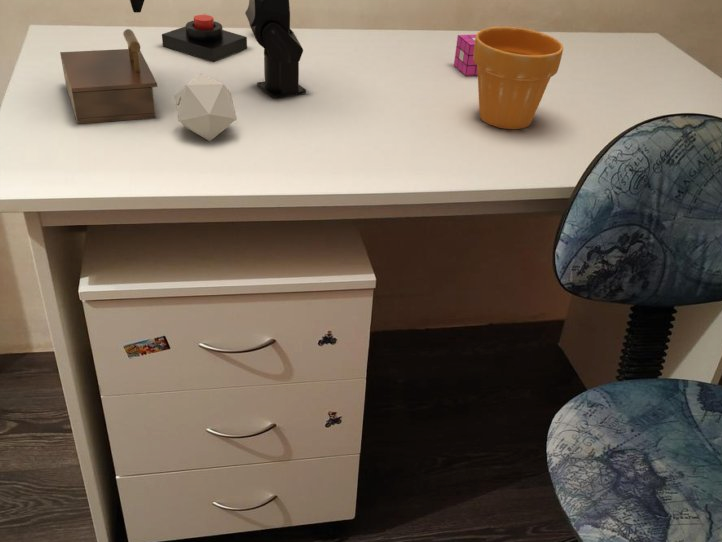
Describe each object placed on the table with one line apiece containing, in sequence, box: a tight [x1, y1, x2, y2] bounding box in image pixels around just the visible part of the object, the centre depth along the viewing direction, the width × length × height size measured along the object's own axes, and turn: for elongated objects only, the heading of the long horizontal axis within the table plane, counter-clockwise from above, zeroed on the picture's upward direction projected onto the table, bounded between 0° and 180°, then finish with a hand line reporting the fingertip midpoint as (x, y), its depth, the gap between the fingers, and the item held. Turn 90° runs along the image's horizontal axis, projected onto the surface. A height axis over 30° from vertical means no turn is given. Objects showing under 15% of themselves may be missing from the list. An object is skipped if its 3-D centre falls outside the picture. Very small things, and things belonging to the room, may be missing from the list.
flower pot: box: [473, 26, 564, 130], centre depth 133 cm, size 14×14×13 cm
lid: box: [59, 28, 158, 92], centre depth 124 cm, size 12×16×5 cm
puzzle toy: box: [453, 34, 478, 77], centre depth 153 cm, size 6×6×6 cm
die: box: [174, 73, 238, 142], centre depth 121 cm, size 8×9×10 cm
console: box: [161, 20, 248, 63], centre depth 150 cm, size 12×10×4 cm
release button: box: [193, 14, 215, 29], centre depth 149 cm, size 4×4×2 cm
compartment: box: [60, 57, 156, 125], centre depth 127 cm, size 12×16×5 cm
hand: (136, 11), depth 125 cm, fingers closed
